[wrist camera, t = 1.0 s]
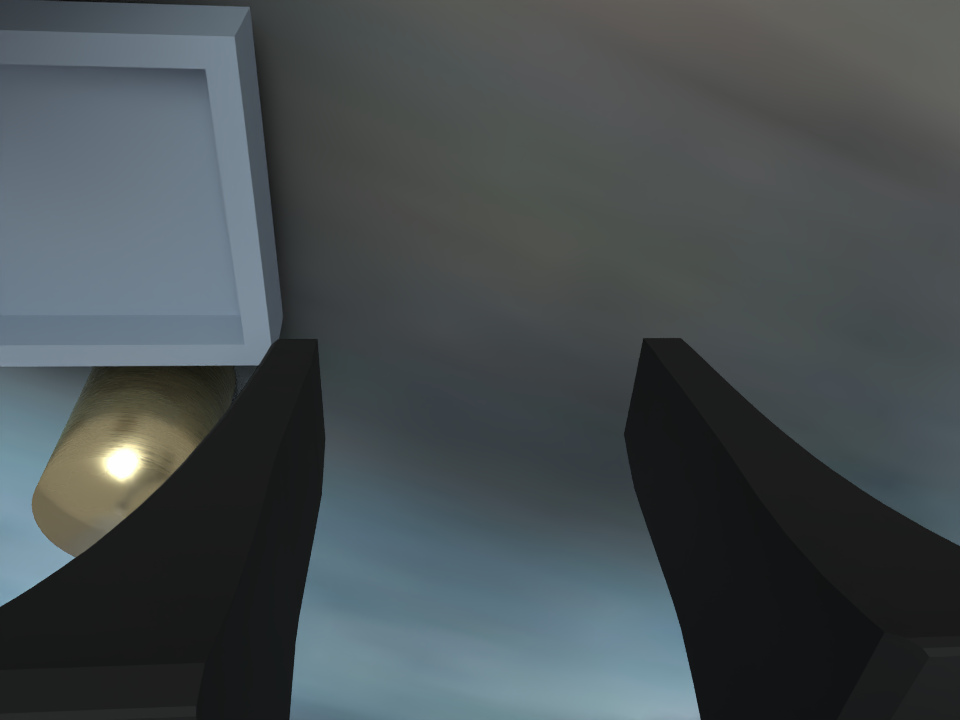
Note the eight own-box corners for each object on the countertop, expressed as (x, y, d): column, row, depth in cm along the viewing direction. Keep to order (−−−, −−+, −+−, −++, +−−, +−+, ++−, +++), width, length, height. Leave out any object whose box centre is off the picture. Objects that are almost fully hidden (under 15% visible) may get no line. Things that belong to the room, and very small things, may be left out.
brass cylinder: (243, 424, 26) (210, 567, 22) (113, 425, 26) (54, 571, 21) (227, 320, 24) (187, 457, 19) (85, 320, 23) (11, 459, 19)
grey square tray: (290, 281, 23) (274, 365, 20) (-2, 281, 22) (-64, 367, 19) (260, -15, 18) (234, 36, 15) (-106, -28, 18) (-206, 24, 15)
